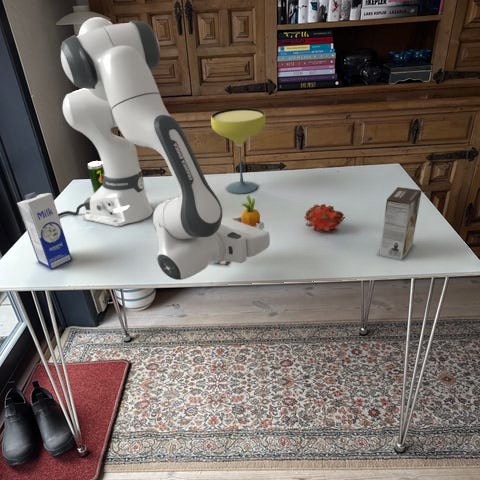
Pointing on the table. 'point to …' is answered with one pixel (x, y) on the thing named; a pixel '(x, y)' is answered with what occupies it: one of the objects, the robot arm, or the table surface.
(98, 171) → the beer can
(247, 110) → the cocktail glass
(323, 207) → the dragon fruit
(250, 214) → the carrot
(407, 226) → the coffee box
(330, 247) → the table surface
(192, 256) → the robot arm
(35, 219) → the milk carton
